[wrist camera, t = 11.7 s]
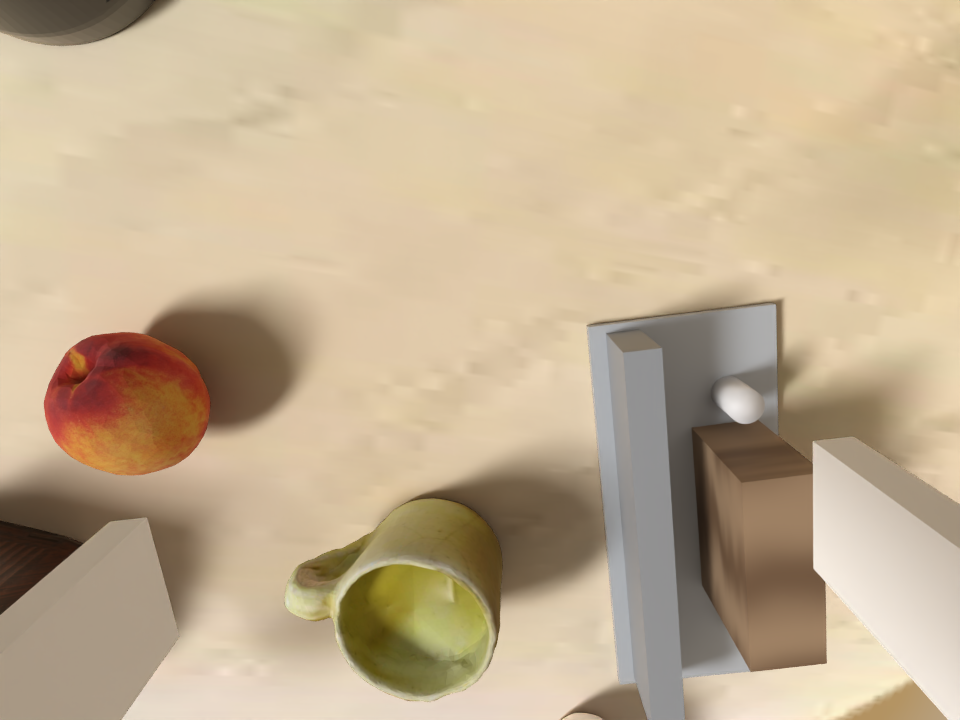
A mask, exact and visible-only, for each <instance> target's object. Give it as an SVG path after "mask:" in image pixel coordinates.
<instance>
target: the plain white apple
mask: <svg viewBox="0 0 960 720" xmlns="http://www.w3.org/2000/svg"><path fill="white" fill-rule="evenodd" d="M562 720H603V719H602V718H601V717H599V716H596V715H593V714H588V713H574V714H571V715H569V716H567V717H565V718H563V719H562Z"/></svg>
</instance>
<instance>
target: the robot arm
mask: <svg viewBox="0 0 960 720" xmlns="http://www.w3.org/2000/svg"><path fill="white" fill-rule="evenodd" d="M154 1H155V0H0V32H1V33H4V34H7V35H10V36H13V37H16V38H19V39H22V40H25V41H29V42H33V43H38V44H45V45H56V46H67V45H79V44H84V43H89V42H93V41H97V40H100V39H102V38H105V37H108V36H110V35H112V34H114V33H116V32H118V31H120V30H122V29H123V28H125V27H127V26H128V25H129V24H131V23H132V22H134V21H135V20H136V19H137V18H138V17H140V16H141V15H142V14H143V13H144V12H145V11H146V10H147V9H148V8H149V7H150V6H151V4H152V3H153V2H154ZM813 569H814V570H815V571H816V572H817V573H818V574H819V575H820V576H821V578H822V579H823V580H824V581H825V582H826V583H827V584H828V585H829V587H830V588H831V589H832V590H833V591H834V592H835V593H836V594H837V596H838V597H839V598H840V599H841V600H842V601H843V602H844V603H845V605H846V606H847V607H848V608H849V609H850V610H851V611H852V612H853V614H854V615H855V616H856V617H857V618H858V619H859V620H860V621H861V622H862V624H863V625H864V626H865V627H866V628H867V629H868V630H869V631H870V633H871V634H872V635H873V636H874V637H875V638H876V639H877V640H878V642H879V643H880V644H881V645H882V646H883V647H884V648H885V649H886V651H887V652H888V653H889V654H890V655H891V656H892V657H893V658H894V660H895V661H896V662H897V663H898V664H899V665H900V666H901V667H902V668H903V670H904V671H905V672H906V673H907V674H908V675H909V676H910V677H911V679H912V680H913V681H914V682H915V683H916V684H917V685H918V686H919V687H920V689H922V691H923V692H924V693H925V694H926V695H927V697H928V698H929V699H930V700H931V701H932V702H933V703H934V704H935V706H936V707H937V708H938V709H939V710H940V711H941V712H942V713H943V714H944V716H945V717H946V718H947V719H948V720H960V504H958V503H957V502H955V501H954V500H952V499H950V498H949V497H947V496H946V495H944V494H943V493H941V492H939V491H938V490H936V489H935V488H933V487H932V486H930V485H929V484H927V483H925V482H924V481H922V480H921V479H919V478H918V477H916V476H915V475H913V474H911V473H910V472H908V471H907V470H905V469H904V468H902V467H900V466H899V465H897V464H896V463H894V462H893V461H891V460H890V459H888V458H886V457H885V456H883V455H882V454H880V453H879V452H877V451H875V450H874V449H872V448H871V447H869V446H868V445H866V444H865V443H863V442H861V441H860V440H858V439H857V438H855V437H854V436H851V437H842V438H834V439H825V440H816V441H813ZM179 637H180V636H179V632H178V628H177V625H176V621H175V617H174V614H173V610H172V606H171V603H170V599H169V596H168V592H167V588H166V585H165V581H164V577H163V574H162V570H161V566H160V563H159V559H158V555H157V552H156V548H155V544H154V541H153V537H152V533H151V530H150V526H149V523H148V519H147V517H145V518H136V519H127V520H119V521H110V522H109V523H107V524H106V525H105V526H104V527H103V528H102V529H100V530H99V531H98V532H97V533H96V534H95V535H93V536H92V537H91V538H90V539H89V540H88V541H86V542H85V543H84V544H83V545H82V546H81V547H79V548H78V549H77V550H76V551H75V552H74V553H72V554H71V555H70V556H69V557H68V558H66V559H65V560H64V561H63V562H62V563H61V564H59V565H58V566H57V567H56V568H55V569H54V570H52V571H51V572H50V573H49V574H48V575H47V576H45V577H44V578H43V579H42V580H41V581H40V582H38V583H37V584H36V585H35V586H34V587H33V588H31V589H30V590H29V591H28V592H27V593H25V594H24V595H23V596H22V597H21V598H20V599H18V600H17V601H16V602H15V603H14V604H13V605H11V606H10V607H9V608H8V609H7V610H6V611H4V612H3V613H2V614H1V615H0V720H121V719H122V718H123V717H124V715H125V714H126V712H127V711H128V709H129V708H130V707H131V705H132V704H133V702H134V701H135V699H136V698H137V697H138V695H139V694H140V692H141V691H142V689H143V688H144V687H145V685H146V684H147V682H148V681H149V679H150V678H151V677H152V675H153V674H154V672H155V671H156V670H157V668H158V667H159V665H160V664H161V662H162V661H163V660H164V658H165V657H166V655H167V654H168V652H169V651H170V650H171V648H172V647H173V645H174V644H175V642H176V641H177V640H178V638H179Z"/></svg>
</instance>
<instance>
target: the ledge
mask: <svg viewBox="0 0 960 720" xmlns="http://www.w3.org/2000/svg"><path fill="white" fill-rule="evenodd" d="M587 335H588V346H589V357H590V368H591V379H592V391H593V402H594V413H595V424H596V435H597V447H598V458H599V469H600V480H601V491H602V502H603V514H604V525H605V536H606V547H607V558H608V570H609V581H610V592H611V603H612V614H613V625H614V637H615V648H616V659H617V670H618V679H619V683H620V684H630V683H636V684H637V688H638V691H639V694H640V697H641V700H642V704H643V707H644V710H645V713H646V716H647V720H685V712H684V696H683V680H682V678H689V677H699V676H709V675H719V674H729V673H739V672H749V671H750V670H749V668H748V666H747V664H746V663H745V661H744V659H743V657H742V656H741V654H740V652H739V650H738V648H737V647H736V645H735V643H734V641H733V640H732V638H731V636H730V634H729V632H728V631H727V629H726V627H725V625H724V624H723V622H722V620H721V618H720V616H719V615H718V613H717V611H716V609H715V608H714V606H713V604H712V602H711V600H710V599H709V597H708V595H707V593H706V592H705V590H704V588H703V586H702V579H701V564H700V549H699V533H698V518H697V503H696V488H695V473H694V458H693V443H692V427H700V426H707V425H715V424H723V423H731V422H738V423H741V424H750V423H753V422H755V421H756V420H759V421H760V422H761V423H763V424H764V425H765V426H766V427H768V428H769V429H770V430H771V431H773V432H774V433H775V434H776V435H778V385H777V331H776V304H774V303H765V304H757V305H749V306H741V307H732V308H724V309H716V310H708V311H700V312H692V313H684V314H675V315H667V316H659V317H651V318H643V319H635V320H627V321H619V322H610V323H602V324H594V325H587Z"/></svg>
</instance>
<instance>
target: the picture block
mask: <svg viewBox="0 0 960 720" xmlns="http://www.w3.org/2000/svg"><path fill="white" fill-rule="evenodd" d="M692 443H693V458H694V473H695V488H696V503H697V518H698V533H699V549H700V564H701V579H702V586H703V588H704V590H705V592H706V593H707V595H708V597H709V599H710V600H711V602H712V604H713V606H714V608H715V609H716V611H717V613H718V615H719V616H720V618H721V620H722V622H723V624H724V625H725V627H726V629H727V631H728V632H729V634H730V636H731V638H732V640H733V641H734V643H735V645H736V647H737V648H738V650H739V652H740V654H741V656H742V657H743V659H744V661H745V663H746V664H747V666H748V668H749V670H750V672H754V671H763V670H772V669H781V668H790V667H798V666H807V665H816V664H825V663H827V657H826V591H825V581H824V580H823V579H822V578H821V576H820V575H819V574H818V573H817V572H816V571H815V570H814V569H813V464H812V463H811V462H810V461H809V460H807V459H806V458H805V457H804V456H802V455H801V454H800V453H799V452H797V451H796V450H795V449H794V448H793V447H791V446H790V445H789V444H788V443H786V442H785V441H784V440H783V439H781V438H780V437H779V436H778V435H776V434H775V433H774V432H773V431H771V430H770V429H769V428H768V427H766V426H765V425H764V424H763V423H761V422H760V421H759V420H756V421H755V422H753V423H750V424H741V423H738V422H731V423H723V424H715V425H707V426H700V427H692Z"/></svg>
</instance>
